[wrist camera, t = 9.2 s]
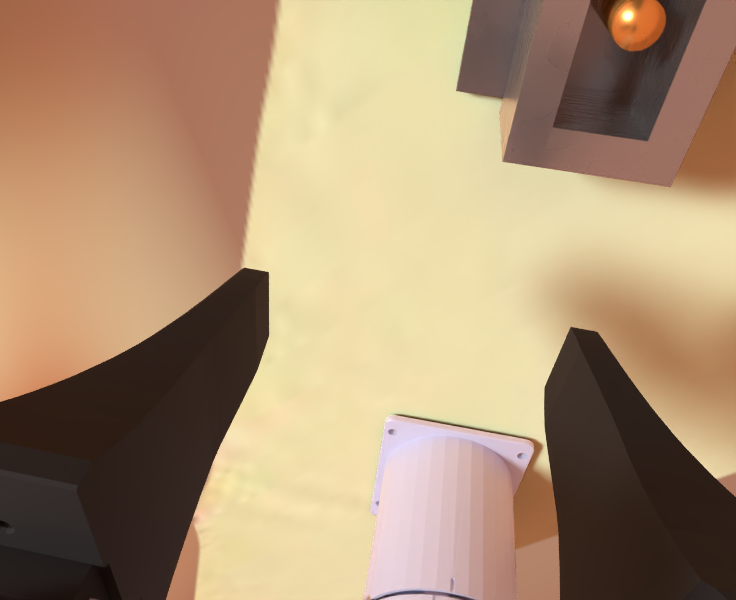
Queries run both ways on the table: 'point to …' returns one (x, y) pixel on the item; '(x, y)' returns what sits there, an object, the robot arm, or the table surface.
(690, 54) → the hollow rectangular frame
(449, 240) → the table surface
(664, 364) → the table surface
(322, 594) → the table surface
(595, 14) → the keeper
